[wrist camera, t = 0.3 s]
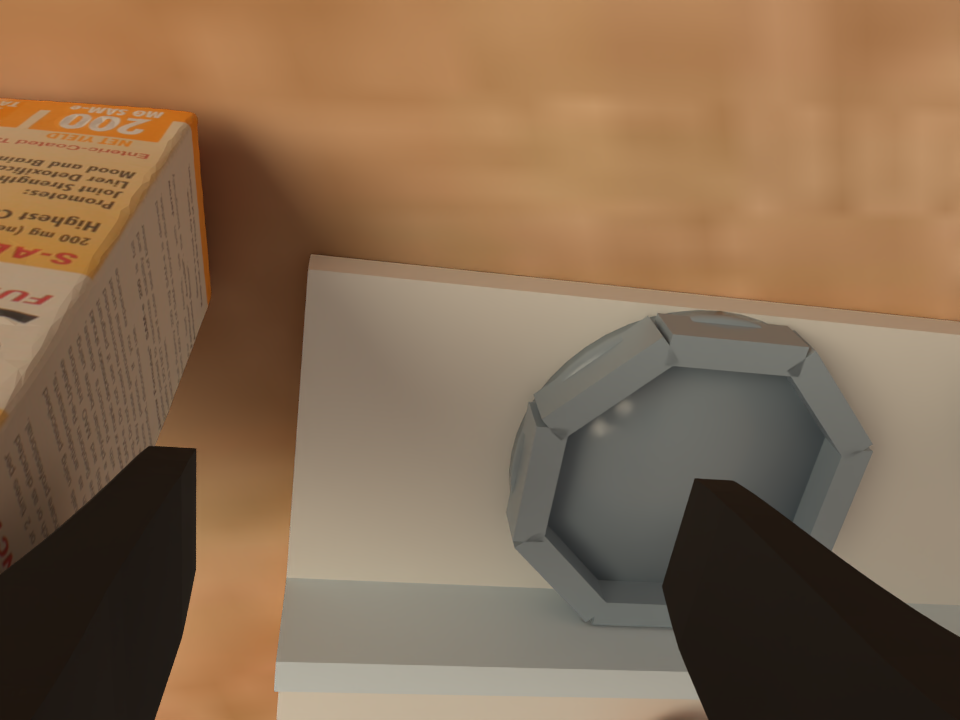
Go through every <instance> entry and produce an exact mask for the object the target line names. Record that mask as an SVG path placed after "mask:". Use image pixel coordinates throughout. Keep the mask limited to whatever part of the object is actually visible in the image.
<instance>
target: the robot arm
mask: <svg viewBox="0 0 960 720" xmlns="http://www.w3.org/2000/svg"><path fill="white" fill-rule="evenodd" d="M195 571H196V449H194V448H177V447H160V446H148V447H147V448H146V449H144V450H143V451H142V452H140V453H139V454H138V455H137V456H136V457H135V458H134V459H133V460H132V461H131V462H130V463H129V464H128V465H127V466H126V467H125V468H123V469H122V470H121V471H120V472H119V473H118V474H117V475H116V476H115V477H114V478H113V479H112V480H111V481H110V482H109V483H108V484H107V485H106V486H105V487H103V488H102V489H101V490H100V491H99V492H98V493H97V494H96V495H95V496H94V497H93V498H92V499H90V500H89V501H88V502H87V503H86V504H85V505H84V506H83V507H81V508H80V509H79V510H78V511H77V512H76V513H75V514H73V515H72V516H71V517H70V518H69V519H68V520H67V521H65V522H64V523H63V524H62V525H61V526H60V527H59V528H57V529H56V530H55V531H54V532H53V533H52V534H50V535H49V536H48V537H47V538H46V539H44V540H43V541H42V542H41V543H40V544H38V545H37V546H36V547H34V548H33V549H32V550H31V551H29V552H28V553H27V554H25V555H24V556H23V557H22V558H20V559H19V560H18V561H17V562H15V563H14V564H13V565H11V566H10V567H9V568H8V569H6V570H5V571H4V572H2V573H1V574H0V720H155V717H156V714H157V711H158V708H159V705H160V702H161V699H162V696H163V693H164V690H165V687H166V684H167V681H168V678H169V675H170V672H171V669H172V666H173V663H174V660H175V657H176V654H177V651H178V648H179V645H180V642H181V639H182V635H183V630H184V626H185V621H186V616H187V611H188V607H189V602H190V596H191V591H192V586H193V581H194V576H195ZM662 589H663V593H664V597H665V601H666V605H667V609H668V613H669V617H670V621H671V624H672V628H673V631H674V635H675V638H676V642H677V645H678V649H679V651H680V654H681V656H682V659H683V661H684V664H685V666H686V668H687V671H688V673H689V676H690V678H691V680H692V683H693V685H694V687H695V690H696V692H697V695H698V697H699V699H700V702H701V704H702V706H703V709H704V711H705V713H706V716H707V718H708V720H960V637H959V636H957V635H956V634H954V633H952V632H951V631H949V630H947V629H945V628H944V627H942V626H940V625H939V624H937V623H936V622H934V621H932V620H931V619H929V618H928V617H926V616H924V615H923V614H921V613H920V612H918V611H917V610H915V609H914V608H912V607H911V606H909V605H908V604H906V603H905V602H903V601H902V600H900V599H899V598H897V597H896V596H894V595H893V594H891V593H890V592H888V591H887V590H885V589H884V588H882V587H881V586H879V585H878V584H876V583H875V582H874V581H872V580H871V579H869V578H868V577H867V576H865V575H864V574H862V573H861V572H859V571H858V570H857V569H855V568H854V567H852V566H851V565H850V564H848V563H847V562H846V561H844V560H843V559H841V558H840V557H839V556H837V555H836V554H835V553H833V552H832V551H831V550H829V549H828V548H827V547H825V546H824V545H823V544H821V543H820V542H819V541H817V540H816V539H815V538H813V537H812V536H811V535H809V534H808V533H807V532H805V531H804V530H803V529H801V528H800V527H799V526H797V525H796V524H795V523H793V522H792V521H791V520H789V519H788V518H787V517H785V516H784V515H783V514H781V513H780V512H779V511H777V510H776V509H775V508H773V507H772V506H770V505H769V504H768V503H766V502H765V501H764V500H762V499H761V498H759V497H758V496H757V495H755V494H754V493H752V492H751V491H749V490H748V489H746V488H745V487H743V486H742V485H740V484H738V483H737V482H735V481H733V480H717V479H700V478H695V479H694V482H693V485H692V489H691V492H690V495H689V498H688V502H687V505H686V508H685V512H684V515H683V518H682V522H681V525H680V528H679V531H678V535H677V538H676V541H675V545H674V548H673V551H672V555H671V558H670V561H669V564H668V568H667V571H666V574H665V578H664V581H663V584H662Z"/></svg>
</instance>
